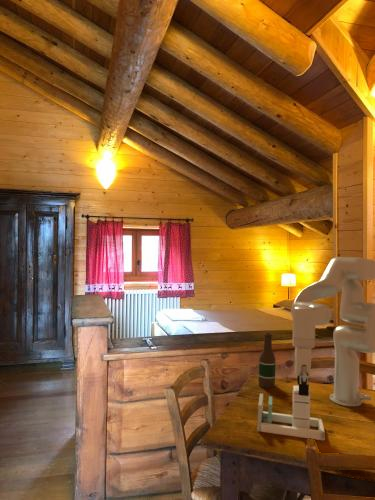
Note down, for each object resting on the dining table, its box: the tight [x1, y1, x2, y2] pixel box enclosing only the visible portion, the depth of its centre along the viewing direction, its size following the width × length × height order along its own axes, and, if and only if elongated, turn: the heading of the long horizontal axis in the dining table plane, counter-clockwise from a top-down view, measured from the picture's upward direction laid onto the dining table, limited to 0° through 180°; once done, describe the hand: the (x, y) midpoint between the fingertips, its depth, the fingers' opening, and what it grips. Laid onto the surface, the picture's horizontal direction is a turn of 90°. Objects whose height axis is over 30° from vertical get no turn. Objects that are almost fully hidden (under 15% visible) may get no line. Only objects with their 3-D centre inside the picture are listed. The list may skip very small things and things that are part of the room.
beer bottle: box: [257, 332, 277, 389], centre depth 176 cm, size 8×8×24 cm
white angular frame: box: [256, 393, 326, 442], centre depth 134 cm, size 22×11×9 cm, turn 76°
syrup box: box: [291, 385, 311, 429], centre depth 134 cm, size 6×6×14 cm
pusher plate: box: [262, 396, 273, 424], centre depth 136 cm, size 3×7×9 cm, turn 166°
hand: (302, 389), depth 134 cm, fingers open, 9 cm apart
